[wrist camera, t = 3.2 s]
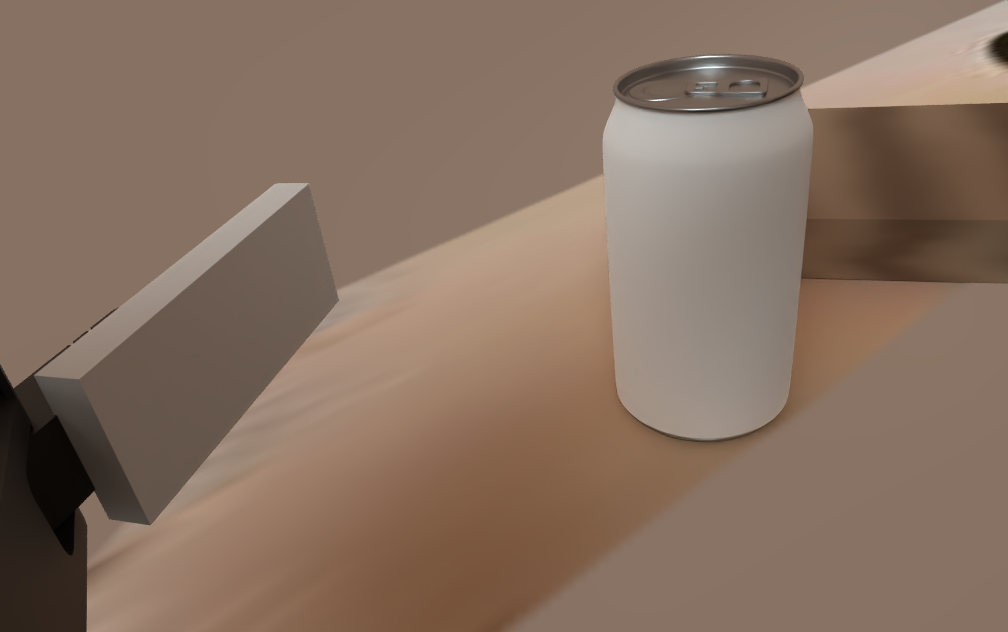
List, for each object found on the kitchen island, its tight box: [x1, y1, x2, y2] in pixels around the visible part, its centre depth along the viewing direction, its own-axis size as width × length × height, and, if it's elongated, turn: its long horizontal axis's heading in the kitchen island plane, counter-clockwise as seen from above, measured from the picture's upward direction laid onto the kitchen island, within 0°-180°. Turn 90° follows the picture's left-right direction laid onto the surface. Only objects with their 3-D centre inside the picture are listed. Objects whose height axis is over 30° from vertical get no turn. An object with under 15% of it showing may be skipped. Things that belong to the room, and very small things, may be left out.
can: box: [603, 54, 813, 442], centre depth 27 cm, size 6×6×12 cm
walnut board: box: [801, 103, 1008, 283], centre depth 40 cm, size 15×15×3 cm
